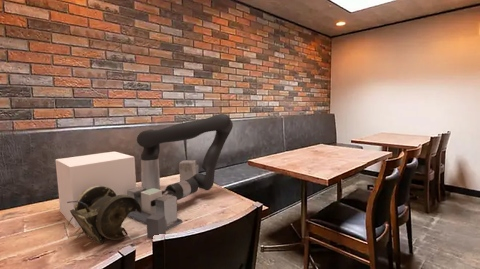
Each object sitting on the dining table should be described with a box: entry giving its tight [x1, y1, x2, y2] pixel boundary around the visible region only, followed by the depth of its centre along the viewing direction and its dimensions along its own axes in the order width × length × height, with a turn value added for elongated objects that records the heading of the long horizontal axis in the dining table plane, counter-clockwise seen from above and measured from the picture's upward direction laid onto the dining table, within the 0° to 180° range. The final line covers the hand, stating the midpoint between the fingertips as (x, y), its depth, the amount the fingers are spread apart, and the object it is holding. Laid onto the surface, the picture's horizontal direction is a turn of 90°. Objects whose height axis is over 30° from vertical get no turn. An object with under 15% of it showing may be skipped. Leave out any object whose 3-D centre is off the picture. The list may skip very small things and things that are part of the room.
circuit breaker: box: [178, 159, 200, 182], centre depth 153 cm, size 8×14×15 cm, turn 174°
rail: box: [127, 186, 183, 231], centre depth 109 cm, size 26×9×11 cm, turn 55°
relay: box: [146, 214, 167, 239], centre depth 96 cm, size 5×4×7 cm
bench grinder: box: [64, 186, 141, 247], centre depth 95 cm, size 20×22×20 cm
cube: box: [55, 151, 137, 228], centre depth 118 cm, size 25×21×24 cm
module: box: [141, 188, 162, 214], centre depth 109 cm, size 6×6×10 cm
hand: (146, 202), depth 107 cm, fingers closed on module, 5 cm apart
